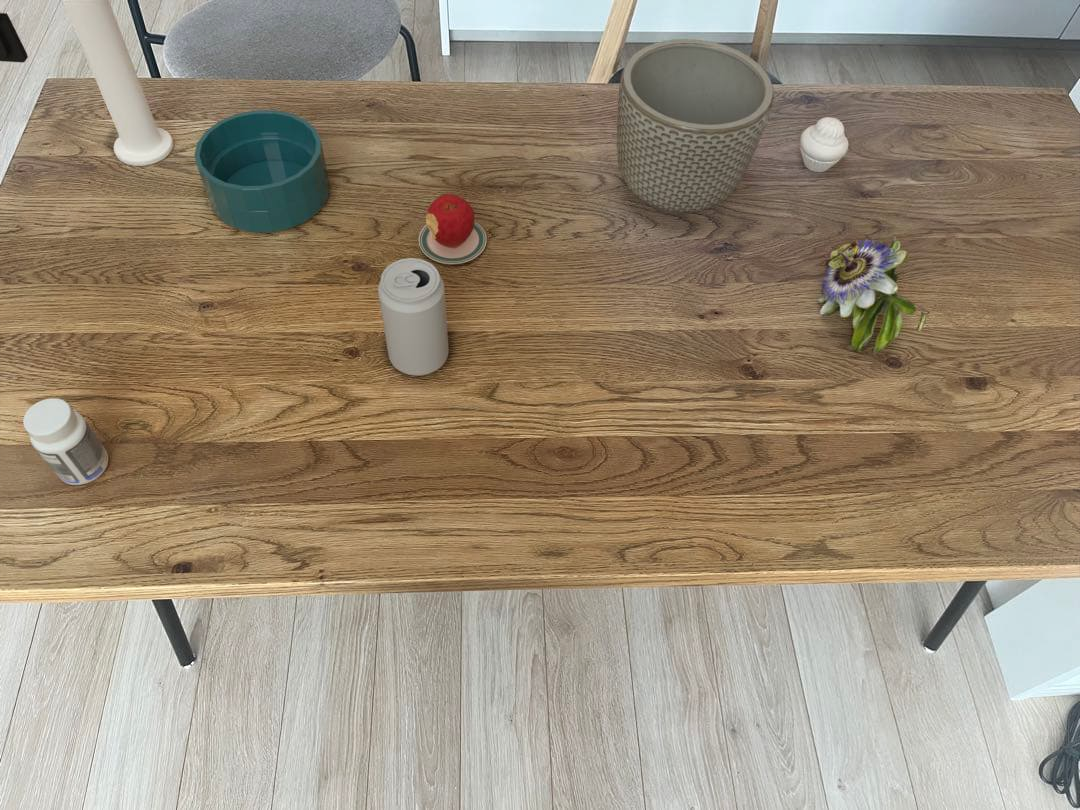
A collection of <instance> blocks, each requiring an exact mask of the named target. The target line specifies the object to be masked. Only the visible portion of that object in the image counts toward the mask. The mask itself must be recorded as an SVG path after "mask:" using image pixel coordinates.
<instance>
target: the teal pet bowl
mask: <svg viewBox="0 0 1080 810" xmlns="http://www.w3.org/2000/svg"><path fill="white" fill-rule="evenodd" d="M193 155H194V160H195V163H196V167H197V170H198V173H199V176H200V178H201V182H202V185H203V188H204V190H205V194H206V196H207V199H208V202H209V205H210V208H211V210H212V212H213V213H214V214H215V215H216V216H217V218H218V219H219V220H220V221H221V222H223V223H224V224H226V225H228V226H230V227H232V228H234V229H235V230H236V229H237V230H240V231H241V230H242V231H245V232H251V233H275V232H279V231H284V230H287V229H292V228H295V227H297V226H299V225H301V224H303V223H305V222H307V221H309V220H310V219H312V218H313V217H314V216H315V215H316V214H317V213H319V212H320V211H321V210H322V209H323V208H324V205H325V204H326V202H327V200H328V198H329V196H330V180H329V175H328V174H329V173H328V169H327V163H326V158H325V154H324V147H323V143H322V139H321V136H320V135H319V132H318V130H317V129H316V128H315V126H313V125H312V124H311V123H310V122H309V121H308V120H307V119H305V118H302V117H300V116H298V115H296V114H294V113H291V112H287V111H280V110H276V109H256V110H249V111H245V112H240V113H236V114H233V115H231V116H229V117H226V118H223V119H221V120H219V121H217V122H216V123H215V124H213V125H212V126H211V127H209V128H208V129H207V130H205V131H204V133H202V135H201V137H200V138H199V139H198V141H197V142H196V146H195V150H194V154H193Z"/></svg>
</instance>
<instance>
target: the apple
mask: <svg viewBox="0 0 1080 810" xmlns="http://www.w3.org/2000/svg"><path fill="white" fill-rule="evenodd" d="M475 216H476V215H475V211H474V208H473V207H472V206H471V204H470V203H469V202H468V201H467V200H466V199H464V198H463V197H461V196H459V195H457V194H453V193H447V194H442V195H440V196H438V197H437V198H435V199H434V200H433V201H432V203H431V204H429V207H428V208H427V211H426V215H425V223H426V224H425V225H424V226H423V227H422V229H421V230H420V232H419V234H418V245H419V248H420V251H421V252H422V253H423V254H424V255H425V256H426V257H427V258H428V259H431V260H432V261H434V262H436V263H440V264H444V265H460V264H465V263H469V262H470V261H472V260H474V259H476V258H477V257H479V256H480V255H482V253H483V252H484V250H485V248H486V246H487V234H486V231H485V230H484V228H483V227H482V226H481V225H480V223H478V222H477V221H476V217H475Z"/></svg>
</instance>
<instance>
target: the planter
mask: <svg viewBox="0 0 1080 810" xmlns="http://www.w3.org/2000/svg"><path fill="white" fill-rule="evenodd" d="M773 103H774V86H773V82H772V80H771V78H770V76H769V74H768V73H767V72H766V71H765V69H764V68H763V67H762V66H761V65H760V64H759V63H758V62H757V61H755V59H753V58H751V57H750V56H748V55H746V54H745V53H743V52H741V51H740V50H738V49H735V48H733V47H731V46H728V45H724V44H722V43H719V42H714V41H709V40H704V39H695V38H673V39H668V40H662V41H659V42H654V43H652V44H649V45H647V46H644V47H643V48H640V50H637V51H636V52H635V53H633V54H632V55H631V56H630V57H629V59H628V60H627V61H626V62H625V65H624V67H623V68H622V73H621V75H620V80H619V85H618V97H617V114H616V116H617V118H616V154H617V155H616V156H617V165H618V169H619V172H620V175H621V178H622V180H623V181H624V183H625V185H626V186H627V188H628V189H629V190H630V191H631V192H632V193H633V194H634V195H635V196H636V197H637V198H639V199H640V200H641V201H643V202H645V204H647V205H648V206H649V208H652V209H653V210H655V211H656V212H659V213H662V214H666V215H670V216H687V215H691V214H693V213H696V212H701V211H705V210H709V209H712V208H713V207H715V206H717V205H719V204H721V203H723V202H724V201H725V200H727V199H728V198H729V197H730V196H731V195H732V193H734V192H735V190H736V189H737V188H738V186H739V184H740V182H741V181H742V179H743V177H744V176H745V174H746V172H747V171H748V168H749V166H750V163H751V162H752V159H753V157H754V155H755V152H756V151H757V148H758V145H759V143H760V141H761V138H762V135H763V133H764V131H765V128H766V126H767V123H768V119H769V117H770V115H771V111H772V107H773Z"/></svg>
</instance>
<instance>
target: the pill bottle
mask: <svg viewBox="0 0 1080 810" xmlns="http://www.w3.org/2000/svg"><path fill="white" fill-rule="evenodd" d="M22 423H23V427H24V429H25V431H26V432H27V434H28V435H29V439H30V443H31V445H32V447H33V448H34V449H35V450H36V452H37V453H38V455H40V456H41V458H42V459H43V461H45V463H46V464H47V465H48V466H49V467H50V468H51V470H52V471H53V472H54V474H55V475H56V476H57V477H58V478H59V480H61V481H62V482H63V483H65V484H67V485H71V486H80V485H85V484H88V483H91V482H93V481H95V480H97V479H98V478H100V477H101V475H103V473H104V472H105V471H106V469H107V467H108V464H109V455H108V452H107V449H106V448H105V446H104V445H103V444H102V443H101V441H100V439H99V438H98V436H97V435H96V433H95V432H94V430H92V428H91V426H90V425H89V423H88V422H87V420H86V419H85V418H84V416H83V415H81V414H80V413H79V412H78V411H76V410H74V409H73V408H72V406H71V405H70V404H69V403H68V402H67V401H65V400H64V399H61V398H57V397H51V398H44V399H42V400H39V401H37V402H35V403H34V404H33V405H32V406H30V407H29V408H28V410H27V411H26V412H25V414H24V416H23V420H22Z"/></svg>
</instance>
